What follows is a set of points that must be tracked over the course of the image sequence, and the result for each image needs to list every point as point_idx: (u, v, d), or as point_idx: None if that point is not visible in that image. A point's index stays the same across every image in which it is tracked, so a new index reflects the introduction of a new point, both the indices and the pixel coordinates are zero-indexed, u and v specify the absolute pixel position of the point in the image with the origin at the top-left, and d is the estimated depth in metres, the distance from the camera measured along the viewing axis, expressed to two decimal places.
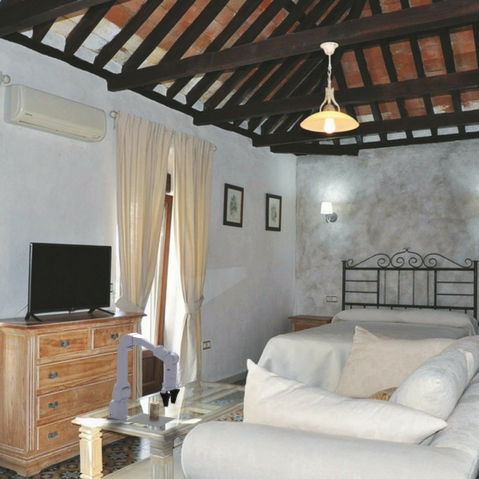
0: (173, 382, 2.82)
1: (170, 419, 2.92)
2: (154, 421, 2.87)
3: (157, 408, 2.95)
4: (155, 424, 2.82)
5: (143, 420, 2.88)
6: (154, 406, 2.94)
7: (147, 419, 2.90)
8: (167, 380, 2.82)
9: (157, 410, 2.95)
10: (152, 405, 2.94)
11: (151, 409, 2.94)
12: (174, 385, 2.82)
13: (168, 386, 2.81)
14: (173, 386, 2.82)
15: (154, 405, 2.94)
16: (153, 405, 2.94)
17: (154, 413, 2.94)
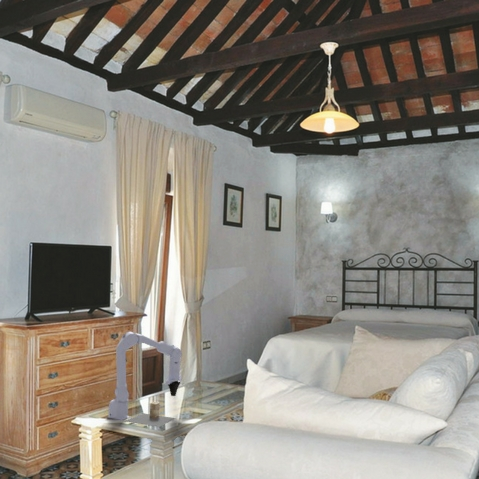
0: (177, 374, 3.01)
1: (170, 419, 2.92)
2: (154, 421, 2.87)
3: (157, 408, 2.95)
4: (155, 424, 2.82)
5: (143, 420, 2.88)
6: (154, 406, 2.94)
7: (147, 419, 2.90)
8: (171, 372, 3.00)
9: (157, 410, 2.95)
10: (152, 405, 2.94)
11: (151, 409, 2.94)
12: (178, 377, 3.01)
13: (172, 378, 3.00)
14: (177, 378, 3.01)
15: (154, 405, 2.94)
16: (153, 405, 2.94)
17: (154, 413, 2.94)
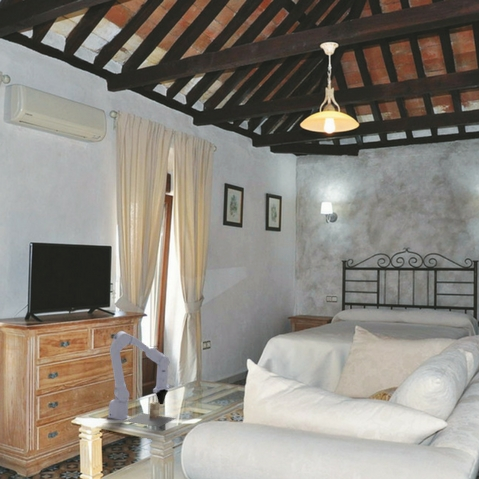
0: (164, 382, 3.00)
1: (170, 419, 2.92)
2: (154, 421, 2.87)
3: (157, 408, 2.95)
4: (155, 424, 2.82)
5: (143, 420, 2.88)
6: (154, 406, 2.94)
7: (147, 419, 2.90)
8: (158, 380, 3.00)
9: (157, 410, 2.95)
10: (152, 405, 2.94)
11: (151, 409, 2.94)
12: (165, 385, 3.01)
13: (159, 386, 3.00)
14: (164, 386, 3.00)
15: (154, 405, 2.94)
16: (153, 405, 2.94)
17: (154, 413, 2.94)
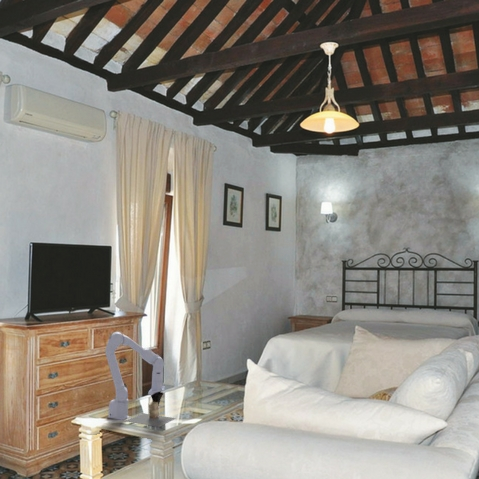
0: (160, 385, 2.96)
1: (170, 419, 2.92)
2: (154, 421, 2.87)
3: (156, 408, 2.94)
4: (155, 424, 2.82)
5: (143, 420, 2.88)
6: (153, 407, 2.93)
7: (147, 419, 2.90)
8: (154, 383, 2.95)
9: (156, 410, 2.94)
10: (151, 406, 2.93)
11: (150, 410, 2.94)
12: (160, 387, 2.96)
13: (155, 388, 2.95)
14: (159, 388, 2.96)
15: (153, 406, 2.93)
16: (151, 406, 2.93)
17: (153, 413, 2.93)
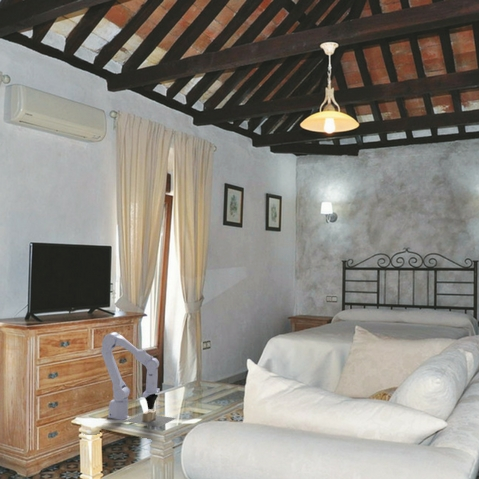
0: (154, 387, 2.90)
1: (170, 419, 2.92)
2: (154, 421, 2.87)
3: (151, 417, 2.89)
4: (155, 424, 2.82)
5: None
6: None
7: None
8: (148, 385, 2.90)
9: (151, 417, 2.90)
10: None
11: None
12: (155, 390, 2.91)
13: (149, 391, 2.90)
14: (154, 391, 2.90)
15: None
16: None
17: None
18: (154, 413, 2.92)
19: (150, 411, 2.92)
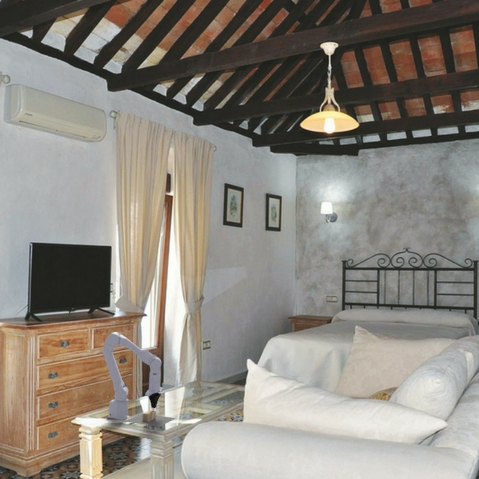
0: (157, 385, 2.93)
1: (170, 419, 2.92)
2: (154, 421, 2.87)
3: (151, 417, 2.89)
4: (155, 424, 2.82)
5: None
6: None
7: None
8: (151, 384, 2.93)
9: (151, 417, 2.90)
10: None
11: None
12: (158, 388, 2.94)
13: (152, 389, 2.92)
14: (157, 389, 2.93)
15: None
16: None
17: None
18: (154, 413, 2.92)
19: (150, 411, 2.92)
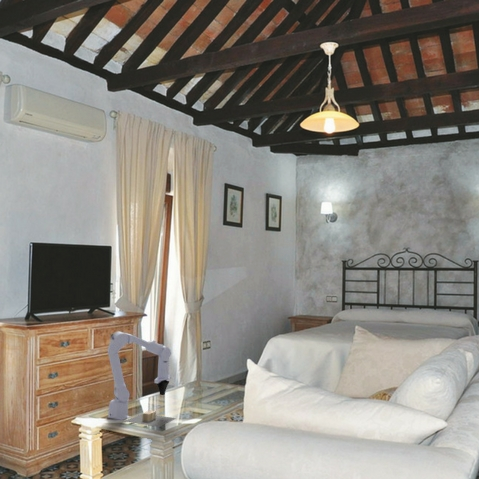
0: (165, 373, 3.01)
1: (170, 419, 2.92)
2: (154, 421, 2.87)
3: (151, 417, 2.89)
4: (155, 424, 2.82)
5: None
6: None
7: None
8: (160, 371, 3.01)
9: (151, 417, 2.90)
10: None
11: None
12: (166, 376, 3.02)
13: (161, 377, 3.01)
14: (165, 377, 3.01)
15: None
16: None
17: None
18: (154, 413, 2.92)
19: (150, 411, 2.92)
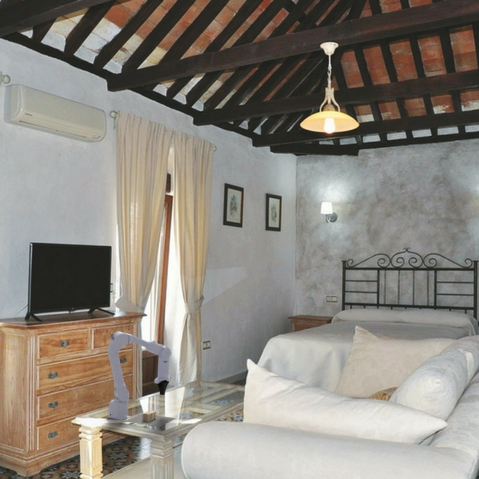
0: (165, 373, 3.01)
1: (170, 419, 2.92)
2: (154, 421, 2.87)
3: (151, 417, 2.89)
4: (155, 424, 2.82)
5: None
6: None
7: None
8: (160, 371, 3.01)
9: (151, 417, 2.90)
10: None
11: None
12: (166, 376, 3.02)
13: (161, 377, 3.01)
14: (165, 377, 3.01)
15: None
16: None
17: None
18: (154, 413, 2.92)
19: (150, 411, 2.92)
